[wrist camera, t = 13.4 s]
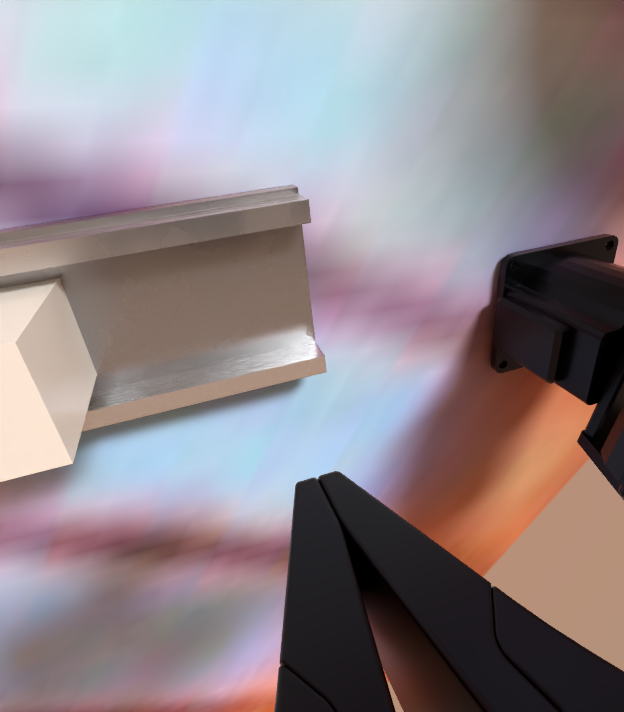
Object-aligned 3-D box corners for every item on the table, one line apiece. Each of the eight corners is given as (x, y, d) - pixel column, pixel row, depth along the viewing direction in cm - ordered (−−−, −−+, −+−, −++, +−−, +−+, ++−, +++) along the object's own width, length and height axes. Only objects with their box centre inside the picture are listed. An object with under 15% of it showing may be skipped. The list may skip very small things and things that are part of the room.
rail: (292, 184, 17) (358, 215, 11) (312, 354, 21) (370, 445, 15) (-348, 283, 13) (-753, 409, 8) (-186, 471, 17) (-373, 656, 11)
